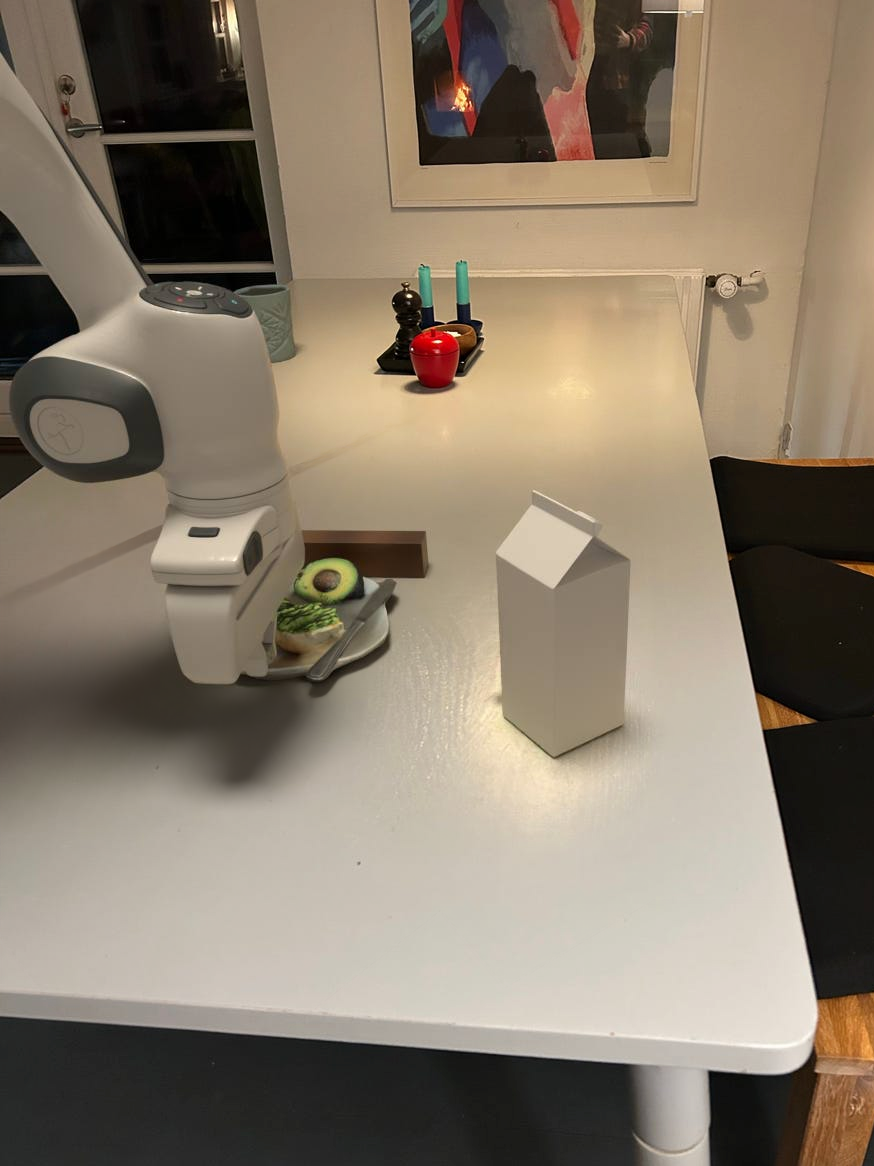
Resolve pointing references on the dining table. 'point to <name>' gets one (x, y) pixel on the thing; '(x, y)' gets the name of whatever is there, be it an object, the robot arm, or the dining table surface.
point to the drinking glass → (273, 318)
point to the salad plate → (328, 620)
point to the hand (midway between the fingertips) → (262, 666)
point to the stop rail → (371, 551)
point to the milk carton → (562, 627)
